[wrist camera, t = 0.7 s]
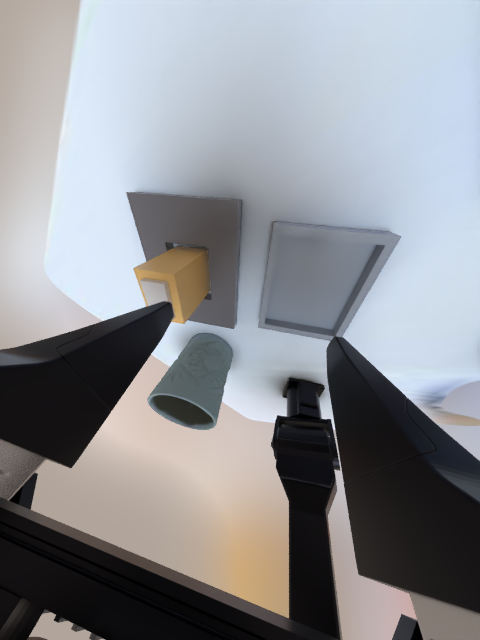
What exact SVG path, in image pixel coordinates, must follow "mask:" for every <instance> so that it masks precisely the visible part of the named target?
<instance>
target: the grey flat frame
mask: <svg viewBox="0 0 480 640" xmlns="http://www.w3.org/2000/svg"><path fill="white" fill-rule="evenodd" d="M126 193H127V196H128V200H129V203H130V207H131V210H132V213H133V217H134V220H135V224H136V227H137V230H138V234H139V237H140V241H141V244H142V247H143V251H144V254H145V258H146V261H149V260H151V259H153V258H155V257H157V256H159V255H161V254H163V253H165V252H167V251H169V250H171V249H173V243H177V244H185V245H193V246H202V247H208V250H209V265H210V281H211V294H207V295H206V297H205V298H204V299H203V300H202V302H201V303H200V304H199V306H198V307H197V308H196V309H195V311H194V312H193V313H192V315H191V316H190V317H189V318H188V320H189V321H194V322H200V323H205V324H210V325H216V326H221V327H226V328H231V329H234V327H235V325H236V318H237V296H238V274H239V252H240V230H241V208H242V200H235V199H221V198H208V197H194V196H181V195H167V194H154V193H140V192H126Z"/></svg>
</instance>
